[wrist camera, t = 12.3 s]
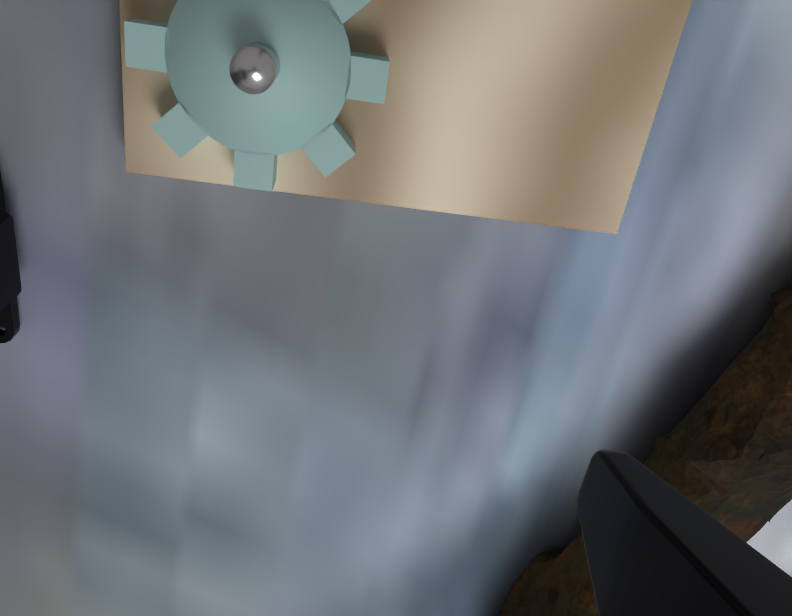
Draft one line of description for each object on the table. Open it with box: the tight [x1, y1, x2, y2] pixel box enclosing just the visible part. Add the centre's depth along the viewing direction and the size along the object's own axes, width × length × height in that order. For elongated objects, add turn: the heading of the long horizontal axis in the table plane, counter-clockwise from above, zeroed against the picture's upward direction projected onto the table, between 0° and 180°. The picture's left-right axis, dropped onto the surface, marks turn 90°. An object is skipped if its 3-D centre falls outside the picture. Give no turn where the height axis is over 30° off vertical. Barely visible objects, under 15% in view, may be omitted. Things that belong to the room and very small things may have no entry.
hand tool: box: [498, 286, 792, 616], centre depth 23 cm, size 23×5×6 cm, turn 148°
